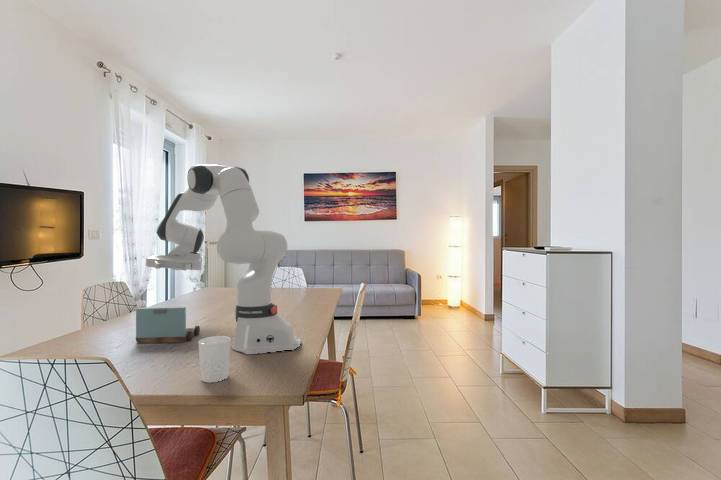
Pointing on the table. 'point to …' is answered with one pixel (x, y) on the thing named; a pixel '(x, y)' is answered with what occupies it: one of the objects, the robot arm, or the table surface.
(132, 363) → the table surface
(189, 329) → the cart bed
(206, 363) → the white cup
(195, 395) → the table surface
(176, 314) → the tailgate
